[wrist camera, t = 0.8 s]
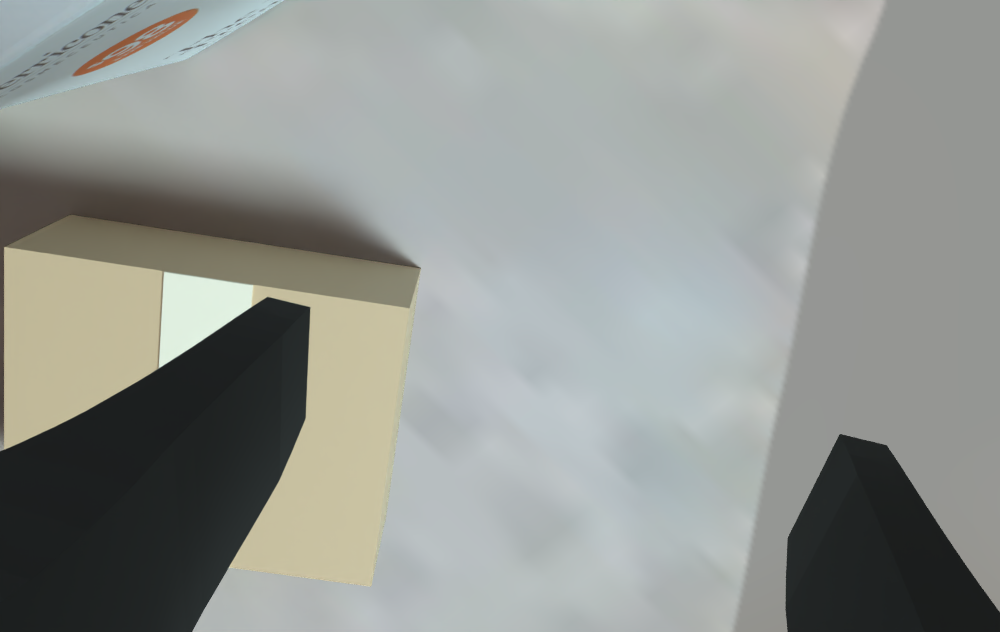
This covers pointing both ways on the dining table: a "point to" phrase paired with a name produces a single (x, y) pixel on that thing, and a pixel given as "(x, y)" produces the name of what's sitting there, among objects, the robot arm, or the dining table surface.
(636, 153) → the dining table surface
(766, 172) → the dining table surface
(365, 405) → the carton
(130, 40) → the skincare box
